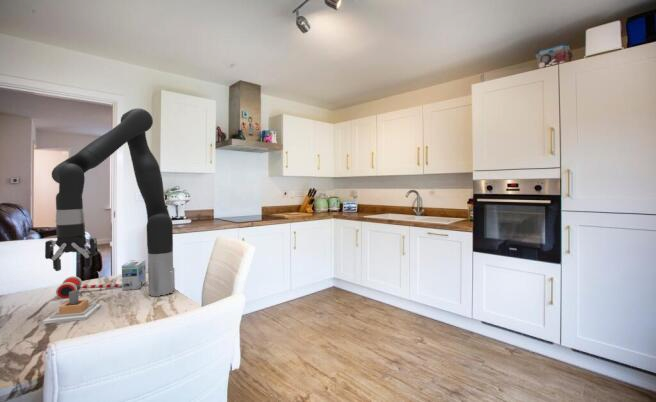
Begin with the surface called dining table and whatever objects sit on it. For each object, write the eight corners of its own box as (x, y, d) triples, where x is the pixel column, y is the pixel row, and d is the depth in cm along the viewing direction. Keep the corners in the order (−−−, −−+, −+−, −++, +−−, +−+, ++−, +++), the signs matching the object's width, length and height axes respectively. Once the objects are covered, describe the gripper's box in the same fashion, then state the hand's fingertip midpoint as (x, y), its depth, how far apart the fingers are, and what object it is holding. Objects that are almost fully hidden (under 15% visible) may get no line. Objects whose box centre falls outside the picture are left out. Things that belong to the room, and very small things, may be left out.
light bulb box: (139, 289, 135) (138, 264, 135) (121, 290, 133) (120, 265, 133) (146, 282, 145) (145, 259, 145) (130, 283, 144) (129, 260, 143)
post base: (101, 306, 116) (100, 285, 116) (86, 319, 105) (85, 295, 104) (62, 309, 113) (61, 287, 112) (43, 323, 101) (42, 299, 101)
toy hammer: (127, 283, 144) (126, 270, 144) (125, 291, 134) (125, 276, 133) (63, 292, 133) (62, 277, 132) (56, 300, 122) (55, 284, 122)
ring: (88, 307, 112) (88, 299, 112) (80, 314, 106) (80, 305, 106) (68, 309, 111) (68, 300, 110) (59, 316, 105) (59, 307, 105)
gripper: (99, 220, 113) (101, 265, 113) (51, 222, 108) (54, 268, 109) (90, 222, 105) (92, 270, 106) (38, 224, 101) (41, 274, 102)
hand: (73, 269), depth 108 cm, fingers open, 8 cm apart
